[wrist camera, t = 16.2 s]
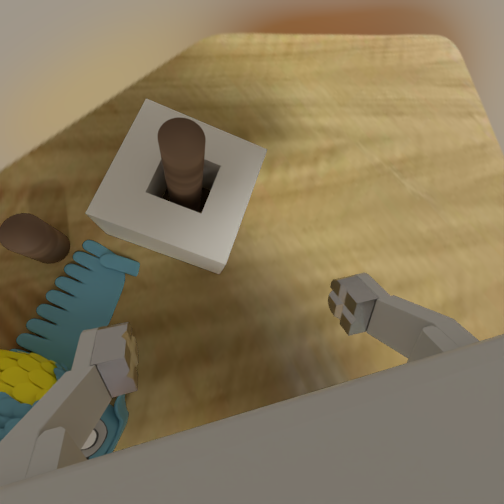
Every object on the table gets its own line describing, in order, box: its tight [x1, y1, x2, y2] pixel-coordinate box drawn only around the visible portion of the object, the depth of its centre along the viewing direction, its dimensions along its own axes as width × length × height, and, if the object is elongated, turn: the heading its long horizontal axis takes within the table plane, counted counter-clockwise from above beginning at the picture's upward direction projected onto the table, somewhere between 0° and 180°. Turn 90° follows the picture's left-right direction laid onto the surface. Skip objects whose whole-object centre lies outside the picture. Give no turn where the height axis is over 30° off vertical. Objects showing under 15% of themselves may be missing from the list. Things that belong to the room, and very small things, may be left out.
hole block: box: [85, 98, 267, 274], centre depth 28 cm, size 12×12×6 cm
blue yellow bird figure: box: [0, 240, 140, 460], centre depth 21 cm, size 28×9×15 cm
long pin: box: [158, 118, 206, 212], centre depth 25 cm, size 3×3×12 cm
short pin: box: [0, 213, 70, 263], centre depth 25 cm, size 3×3×5 cm
